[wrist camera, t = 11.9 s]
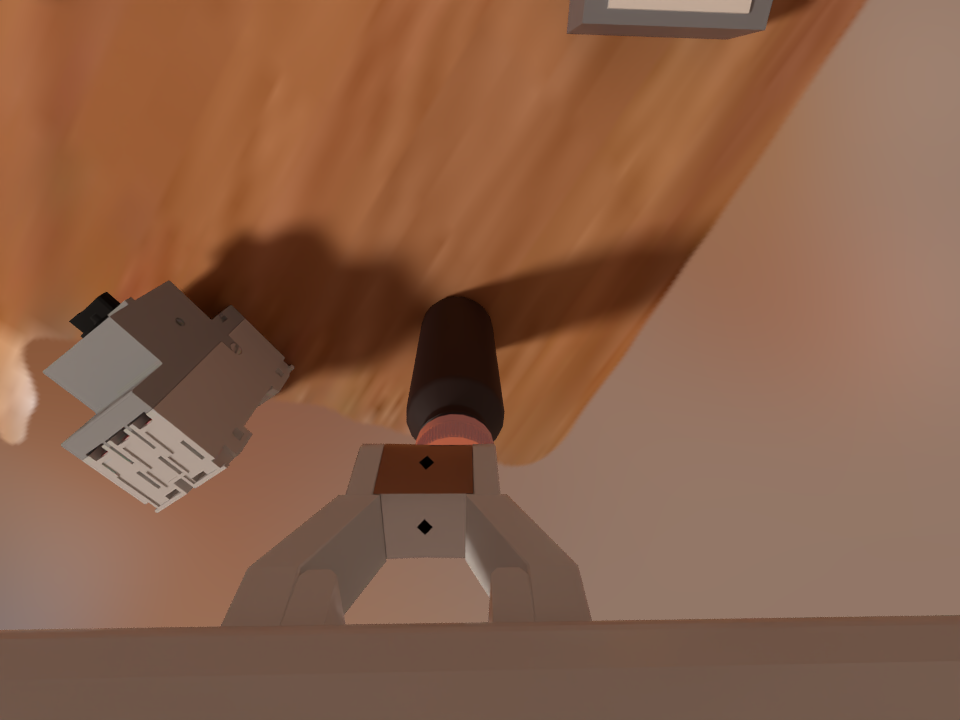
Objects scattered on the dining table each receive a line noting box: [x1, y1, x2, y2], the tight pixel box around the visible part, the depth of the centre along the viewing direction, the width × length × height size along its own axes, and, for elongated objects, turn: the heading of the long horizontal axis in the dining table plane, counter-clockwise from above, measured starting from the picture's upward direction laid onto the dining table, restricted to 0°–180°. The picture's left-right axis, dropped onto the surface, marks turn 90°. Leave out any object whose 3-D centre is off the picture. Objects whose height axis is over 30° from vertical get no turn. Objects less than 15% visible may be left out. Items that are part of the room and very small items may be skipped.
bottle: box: [407, 297, 504, 445], centre depth 37 cm, size 7×7×20 cm
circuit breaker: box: [43, 281, 295, 513], centre depth 38 cm, size 8×14×15 cm, turn 34°
